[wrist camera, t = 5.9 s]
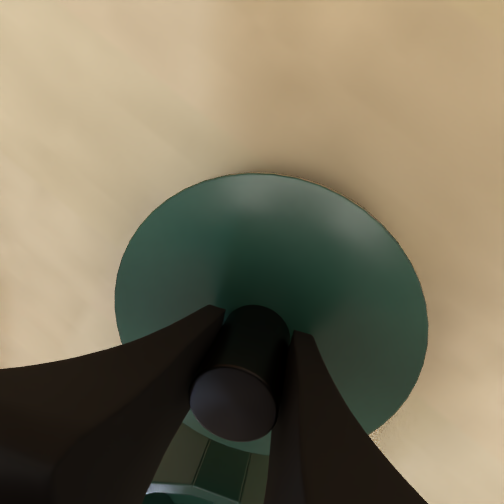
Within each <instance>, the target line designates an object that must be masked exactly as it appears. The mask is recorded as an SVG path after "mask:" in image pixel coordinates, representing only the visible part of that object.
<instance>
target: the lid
mask: <svg viewBox="0 0 504 504" xmlns="http://www.w3.org/2000/svg"><path fill="white" fill-rule="evenodd" d="M209 304H210V305H213V306H216V307H220V308H223V309H226V310H225V315H224V320H223V325H222V328H221V330H220V332H219V333H218V335H217V337H216V339H215V341H214V342H213V344H212V346H211V348H210V349H209V351H208V353H207V355H206V357H205V358H204V360H203V362H202V364H201V366H200V367H199V369H198V371H197V373H196V375H195V376H194V378H193V380H192V382H191V384H190V387H189V394H188V396H189V404H190V410H189V412H188V413H187V415H186V417H185V418H184V420H183V422H182V423H184V424H185V425H187V426H188V427H190V428H191V429H193V430H194V431H196V432H198V433H200V434H202V435H204V436H205V437H207V438H209V439H211V440H213V441H216V442H218V443H221V444H223V445H226V446H228V447H232V448H235V449H238V450H242V451H245V452H250V453H255V454H260V455H269V454H270V443H271V432H272V429H273V427H274V426H275V424H276V422H277V419H278V415H279V409H280V402H281V396H282V389H283V383H284V376H285V368H286V362H287V355H288V349H289V345H290V342H291V339H292V335H293V332H294V330H297V331H301V332H304V333H307V334H311V335H313V337H314V339H315V342H316V344H317V347H318V349H319V352H320V354H321V356H322V359H323V361H324V363H325V365H326V367H327V369H328V371H329V373H330V375H331V377H332V379H333V381H334V383H335V385H336V387H337V389H338V391H339V392H340V394H341V396H342V397H343V399H344V401H345V403H346V404H347V406H348V407H349V409H350V410H351V412H352V413H353V415H354V416H355V418H356V419H357V421H358V422H359V423H360V425H361V426H362V428H363V429H364V430H365V432H366V433H367V434H368V435H369V434H370V433H372V432H373V431H375V430H376V429H378V428H379V427H380V426H382V425H383V424H384V423H385V422H386V421H387V420H388V419H389V418H391V417H392V416H393V415H394V414H395V413H396V412H397V410H398V409H399V408H400V407H401V406H402V404H403V403H404V402H405V401H406V399H407V398H408V396H409V394H410V393H411V391H412V389H413V388H414V386H415V384H416V382H417V380H418V377H419V375H420V372H421V369H422V367H423V364H424V359H425V354H426V350H427V345H428V316H427V308H426V302H425V298H424V295H423V291H422V288H421V284H420V281H419V279H418V277H417V275H416V273H415V270H414V268H413V266H412V264H411V262H410V260H409V259H408V257H407V256H406V254H405V253H404V251H403V249H402V248H401V246H400V245H399V243H398V242H397V241H396V240H395V239H394V237H393V236H392V235H391V234H390V233H389V232H388V231H387V229H386V228H385V227H384V226H383V225H382V224H381V223H380V222H379V221H378V220H377V219H376V218H375V217H373V216H372V215H371V214H370V213H369V212H368V211H366V210H365V209H364V208H363V207H362V206H360V205H359V204H357V203H355V202H354V201H352V200H351V199H349V198H348V197H346V196H345V195H343V194H341V193H339V192H337V191H335V190H333V189H331V188H328V187H326V186H324V185H322V184H320V183H316V182H313V181H310V180H307V179H303V178H300V177H297V176H291V175H285V174H279V173H266V172H247V173H238V174H229V175H225V176H221V177H217V178H213V179H209V180H205V181H203V182H200V183H198V184H195V185H193V186H191V187H188V188H186V189H184V190H182V191H180V192H179V193H177V194H175V195H174V196H172V197H170V198H169V199H167V200H166V201H165V202H164V203H162V204H161V205H160V206H159V207H157V208H156V209H155V210H154V211H153V212H152V213H151V214H150V215H149V216H148V217H147V218H146V219H145V220H144V222H143V223H142V224H141V225H140V226H139V228H138V229H137V231H136V232H135V234H134V235H133V237H132V238H131V240H130V242H129V244H128V246H127V248H126V250H125V253H124V255H123V257H122V260H121V263H120V267H119V270H118V274H117V280H116V287H115V314H116V322H117V327H118V331H119V335H120V339H121V342H122V344H125V343H128V342H131V341H134V340H137V339H139V338H142V337H144V336H147V335H149V334H151V333H154V332H156V331H158V330H160V329H162V328H165V327H167V326H169V325H171V324H173V323H175V322H177V321H179V320H181V319H183V318H184V317H186V316H188V315H190V314H192V313H194V312H195V311H197V310H199V309H201V308H203V307H205V306H207V305H209Z"/></svg>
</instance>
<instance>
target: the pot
mask: <svg viewBox="0 0 504 504" xmlns="http://www.w3.org/2000/svg"><path fill="white" fill-rule="evenodd" d="M268 465H269V455H260V454H255V453H250V452H245V451H242V450H238V449H235V448H232V447H228V446H226V445H223V444H221V443H218V442H216V441H213V440H211V439H209V438H207V437H205V436H204V435H202V434H200V433H198V432H196V431H194V430H193V429H191V428H190V427H188V426H187V425H185V424H184V423H182V424H181V425H180V427H179V429H178V431H177V432H176V434H175V436H174V437H173V439H172V441H171V443H170V445H169V447H168V448H167V450H166V452H165V454H164V456H163V458H162V460H161V463H160V465H159V467H158V469H157V471H156V473H155V475H154V478H153V480H152V482H151V484H150V486H149V488H148V491H147V493H146V495H145V497H144V500H143V502H142V504H263V503H264V497H265V491H266V484H267V476H268Z"/></svg>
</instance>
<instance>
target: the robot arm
mask: <svg viewBox="0 0 504 504" xmlns="http://www.w3.org/2000/svg"><path fill="white" fill-rule="evenodd" d="M225 310H226V309H223V308H220V307H216V306H213V305H210V304H209V305H207V306H205V307H203V308H201V309H199V310H197V311H195V312H194V313H192V314H190V315H188V316H186V317H184V318H183V319H181V320H179V321H177V322H175V323H173V324H171V325H169V326H167V327H165V328H162V329H160V330H158V331H156V332H154V333H151V334H149V335H147V336H144V337H142V338H139V339H137V340H134V341H131V342H128V343H125V344H122V345H119V346H116V347H113V348H110V349H106V350H102V351H99V352H95V353H91V354H87V355H83V356H79V357H75V358H70V359H65V360H60V361H55V362H49V363H43V364H38V365H31V366H24V367H16V368H7V369H0V504H142V502H143V500H144V497H145V495H146V493H147V491H148V488H149V486H150V484H151V482H152V480H153V478H154V475H155V473H156V471H157V469H158V467H159V465H160V463H161V460H162V458H163V456H164V454H165V452H166V450H167V448H168V447H169V445H170V443H171V441H172V439H173V437H174V436H175V434H176V432H177V431H178V429H179V427H180V425H181V424H182V422H183V420H184V418H185V417H186V415H187V413H188V412H189V410H190V404H189V396H188V394H189V387H190V384H191V382H192V380H193V378H194V376H195V375H196V373H197V371H198V369H199V367H200V366H201V364H202V362H203V360H204V358H205V357H206V355H207V353H208V351H209V349H210V348H211V346H212V344H213V342H214V341H215V339H216V337H217V335H218V333H219V332H220V330H221V328H222V325H223V320H224V315H225ZM263 504H428V503H427V502H426V501H425V500H424V499H423V498H422V497H421V496H420V495H419V494H418V493H417V492H416V490H415V489H414V488H413V487H412V486H411V485H410V484H409V483H408V482H407V481H406V480H405V479H404V478H403V477H402V475H401V474H400V473H399V472H398V471H397V470H396V469H395V468H394V466H393V465H392V464H391V463H390V462H389V461H388V459H387V458H386V457H385V456H384V454H383V453H382V452H381V451H380V450H379V448H378V447H377V446H376V445H375V444H374V442H373V441H372V440H371V438H370V437H369V436H368V434H367V433H366V432H365V430H364V429H363V428H362V426H361V425H360V423H359V422H358V421H357V419H356V418H355V416H354V415H353V413H352V412H351V410H350V409H349V407H348V406H347V404H346V403H345V401H344V399H343V397H342V396H341V394H340V392H339V391H338V389H337V387H336V385H335V383H334V381H333V379H332V377H331V375H330V373H329V371H328V369H327V367H326V365H325V363H324V361H323V359H322V356H321V354H320V352H319V349H318V347H317V344H316V342H315V339H314V337H313V335H311V334H307V333H304V332H301V331H297V330H294V332H293V335H292V339H291V342H290V345H289V349H288V355H287V362H286V368H285V376H284V383H283V389H282V396H281V402H280V409H279V415H278V419H277V422H276V424H275V426H274V427H273V429H272V432H271V443H270V454H269V465H268V476H267V484H266V491H265V497H264V503H263Z"/></svg>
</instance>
